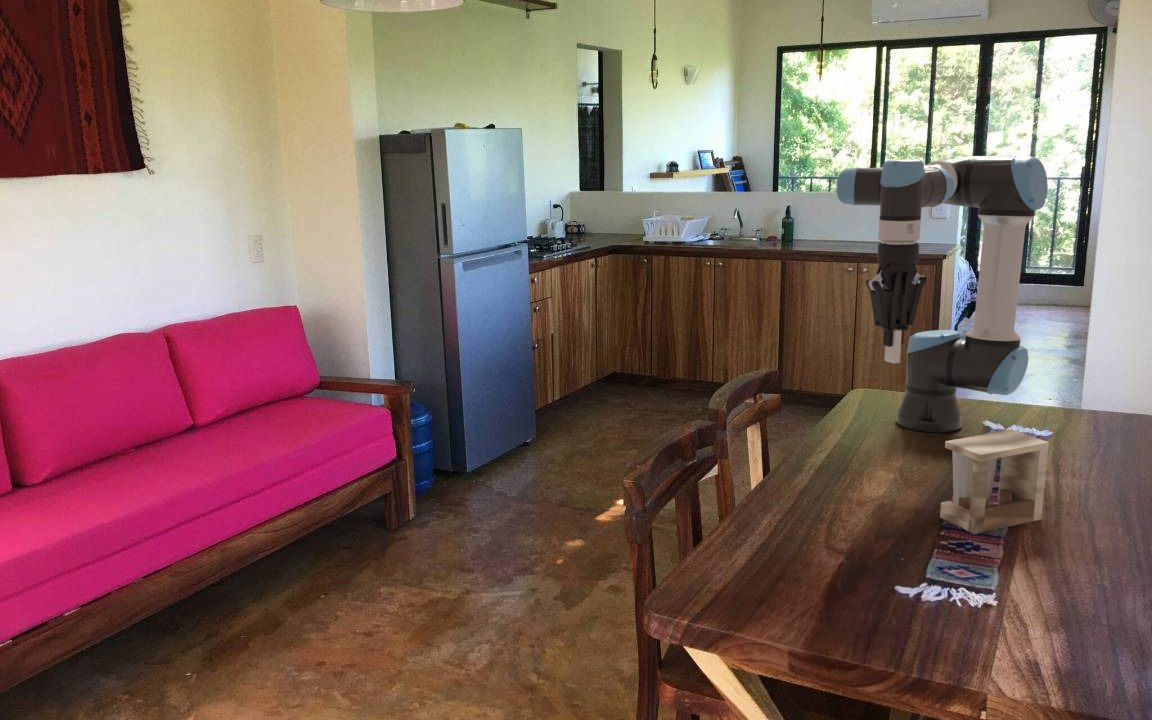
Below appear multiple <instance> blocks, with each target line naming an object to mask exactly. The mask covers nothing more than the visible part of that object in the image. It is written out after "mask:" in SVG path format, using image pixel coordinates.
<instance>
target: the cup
mask: <svg viewBox="0 0 1152 720" xmlns="http://www.w3.org/2000/svg"><path fill="white" fill-rule="evenodd" d="M951 451H952V495H953V496H952V500H953V501H952V502H953V503H955V504H959V497H963V498H971V487H972V474H973V461H974V459H973V458H970V457H968V456H965V455H963V454H960V453H958V452H955V451H953V450H951ZM997 462H998V458H996V459H991V460H989V465H988V477H987V490H986V500H989V501H991V498H992V491H993V485H994V481H995V475H996V474H995V473H996V468H997Z"/></svg>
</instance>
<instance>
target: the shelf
mask: <svg viewBox="0 0 1152 720" xmlns="http://www.w3.org/2000/svg"><path fill="white" fill-rule="evenodd" d="M1049 444H1050V441H1046V440H1044V439H1040V438H1037V437H1034V436H1032V435H1029V434H1026V433H1023V432H1020V431H1017V430H1015V429H1006V430H1002V431H997V432H989V433H984V434H980V435H974V436H972V435H971V436H967V437H963V438H962V437H961V438H957V439H951V440H945V441H944V448H945V449H947V450H950V451H952V450H953V451H955V452H958V453H960V454H963V455H965V456H968V457H970V458H973V459H974V461H973V474H972V487H971V498H963V497H959V504H955V503H953V501H951V500H947V501H943V502H940V511H939V512H940V513H939V518H940V519H942V520H944V521H946V520H947V521H946V522H948V521H949V522H948V523H950V522H951V523H950V524H952V523H953V525H954V524H956V525H957V526H956V525H955V526H956V527H958V526H959V528H960V527H962V528H963V530H964V529H965V531H966V532H968V533H971V534H972V535H977V534H983V533H986V532H985V531H988V532H991V531H990V530H992V531H995V530H994V529H996V530H998V529H997V528H1001V529H1003V528H1002V527H1005V528H1009V526H1010V527H1014V526H1017V525H1022V524H1026V523H1032V522H1036V521H1041V520H1042V516H1043V510H1044V509H1043V506H1044V496H1045V488H1046V487H1045V486H1046V476H1047V465H1048V454H1049V446H1050V445H1049ZM996 458H997V459H1000V470H999V471H1000V472H999V480H998V481H999V482H998V494H997V496H998V497H997V504H998V505H996V506H995V501H994V500H990V501H989V500H986V490H987V477H988V465H989V460H991V459H996ZM962 528H961V529H962ZM982 532H983V533H982Z"/></svg>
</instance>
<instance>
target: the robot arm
mask: <svg viewBox="0 0 1152 720" xmlns="http://www.w3.org/2000/svg"><path fill="white" fill-rule="evenodd" d="M1048 184H1049V183H1048V176H1047V172H1046V168H1045V166H1044V164H1043V163H1042V161H1041V160H1040V159H1039V158H1037V157H1035V156H1029V155H1019V154H1016V155H967V156H961V157H955V158H949V159H944V160H934V161H931V162H928V163H927V164H924V162H923V160H921V159H889V160H886V161H885V162H884V163H883V164H882V167H853V168H852V167H850V168H845V169H843V170H842V171H841V172H840V173H839V175H838V177H837V180H836V188H835V190H836V197H837V199H838V200H839V201H840V202H841V203H842V204H843V205H853V206H879V220H878V237H877V240H879V241H881V242H879V243H878V244H877V257H876V259H877V262H878V265H879V266H878V268H877V271H876V275H875V276H874V277H873V278H871V279H867V280H866V281H865V285H866V287H867V288H868V290H869V294H870V301H871V306H872V313H873V321H874V325H875V327H877V328H880V329H883V336H882V338H883V339H882V344H883V346H885V347H884V362H887V363H891V364H901V349H902V346H904V345H903V344H904V338H905V337H904V336H905V331H907V330H909V328H910V327H909V326H913V325H914V322H915V318H916V315H917V310H918V306H919V302H920V298H921V294H922V290H923V288H924V286H925V284H926V283H927V281H928V278H927V276H925V275H921V274H920V273H918V267H917V263H918V262H919V260H920V258H919V256H920V244H919V243H918V241H919V240H921V239H920V237H921V223H922V208H929V207H931V208H935V207H937V206H940V205H943V204H946V205H951V206H958V207H967V208H969V207H970V208H978V212H977V217H978V218H979V219H980V220H981V222H983V230H982V231H983V233H982V241H981V242H982V244H981V252H980V253H981V254H980V262H979V271H978V272H979V273H978V280H977V281H978V282H977V292H976V302H975V311H974V322H973V327H972V328H971V329H969V330H968V331H967V332H966V333H965V339H963V338H962V335H961V332H960V331H958V330H953V329H952V330H951V329H950V330H949V329H939V330H938V329H937V330H927V331H926V330H925V331H920V332H916V333H913V335H910V337H909V339H908V344H907V345H908V346H907V351H906V354H907V355H906V356H907V357H906V374H905V375H906V377H905V390H904V391H905V392H904V394H903V397H902V400H901V403H900V407H899V408H898V409H897V412H896V420H895V421H896V423H897V424H898V425H900V426H901V427H903V428H906V429H910V430H913V431H919V432H925V433H948V432H955V431H957V430H960V429H961V428H962V422H963V417H962V414H961V412H960V406H959V402H958V399H957V388H958V389H963V390H970V391H974V392H975V391H976V392H981V393H986V394H988V395H1000V396H1008V395H1011V394H1013V393H1014V392H1016V390H1017V389H1018V388H1019V387H1020V386H1021V383H1022V381H1023V379H1024V377H1025V375H1026V373H1027V372H1026V371H1027V370H1028V369H1027V368H1028V365H1029V357H1030V356H1029V351H1028V349H1027V348H1026V347H1024V346H1023V345H1021V336H1020V335H1019V334H1018V333H1017V332H1016V331H1015V324H1016V316H1017V308H1018V297H1019V289H1020V279H1021V270H1022V263H1023V254H1024V253H1023V252H1024V243H1025V234H1026V226H1027V225H1028V224H1029V222H1031V221H1032V220H1033V219H1034V217H1035V211H1038V210H1040V209H1042V208H1043V207H1044V205H1045V204H1046V199H1047V196H1048V190H1049V189H1048V188H1049V187H1048Z"/></svg>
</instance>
